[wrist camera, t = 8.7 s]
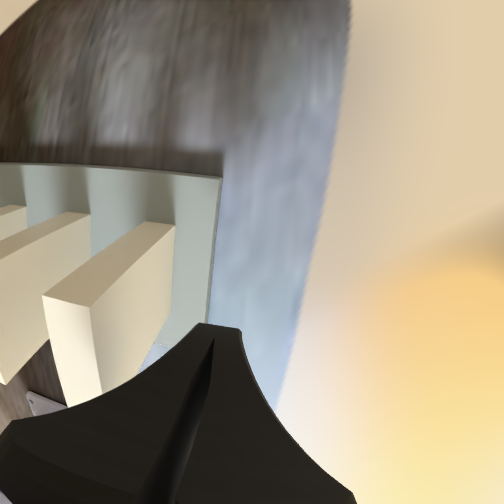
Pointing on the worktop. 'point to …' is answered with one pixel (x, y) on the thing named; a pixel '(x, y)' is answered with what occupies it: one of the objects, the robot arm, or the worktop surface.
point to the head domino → (111, 311)
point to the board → (131, 219)
